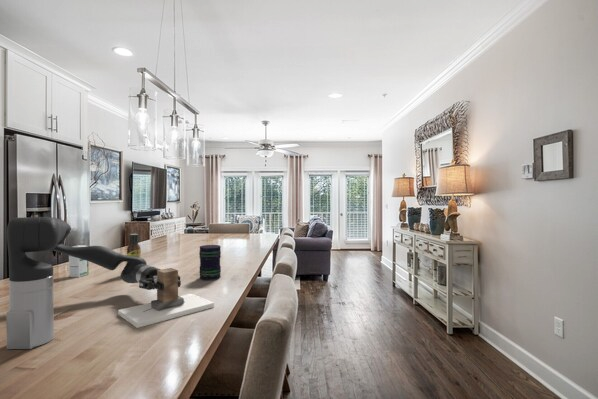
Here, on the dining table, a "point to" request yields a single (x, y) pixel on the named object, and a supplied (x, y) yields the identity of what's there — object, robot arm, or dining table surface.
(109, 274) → the dining table surface
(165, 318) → the board
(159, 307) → the block
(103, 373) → the dining table surface
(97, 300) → the dining table surface
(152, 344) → the dining table surface
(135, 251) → the sauce bottle
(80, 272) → the syrup box
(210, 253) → the storage jar
